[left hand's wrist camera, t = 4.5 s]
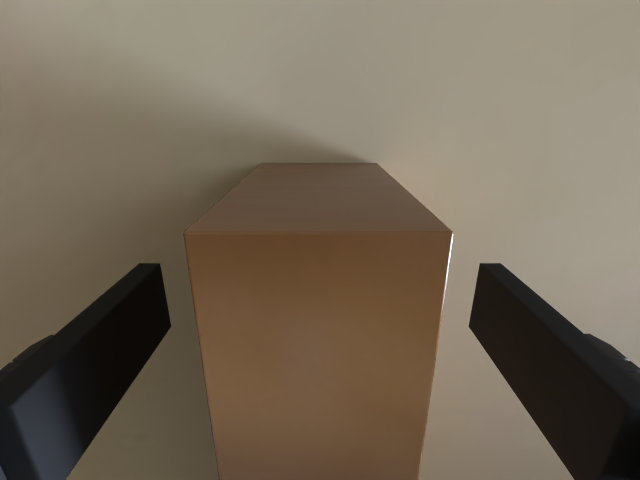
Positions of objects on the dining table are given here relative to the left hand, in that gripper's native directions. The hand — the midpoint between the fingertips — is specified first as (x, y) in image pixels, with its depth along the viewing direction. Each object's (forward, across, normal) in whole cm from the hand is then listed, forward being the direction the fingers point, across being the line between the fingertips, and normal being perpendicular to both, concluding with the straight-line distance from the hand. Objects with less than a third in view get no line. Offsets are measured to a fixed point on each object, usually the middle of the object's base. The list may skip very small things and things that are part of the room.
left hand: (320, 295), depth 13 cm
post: (+2, 0, -30) cm, 30 cm away
